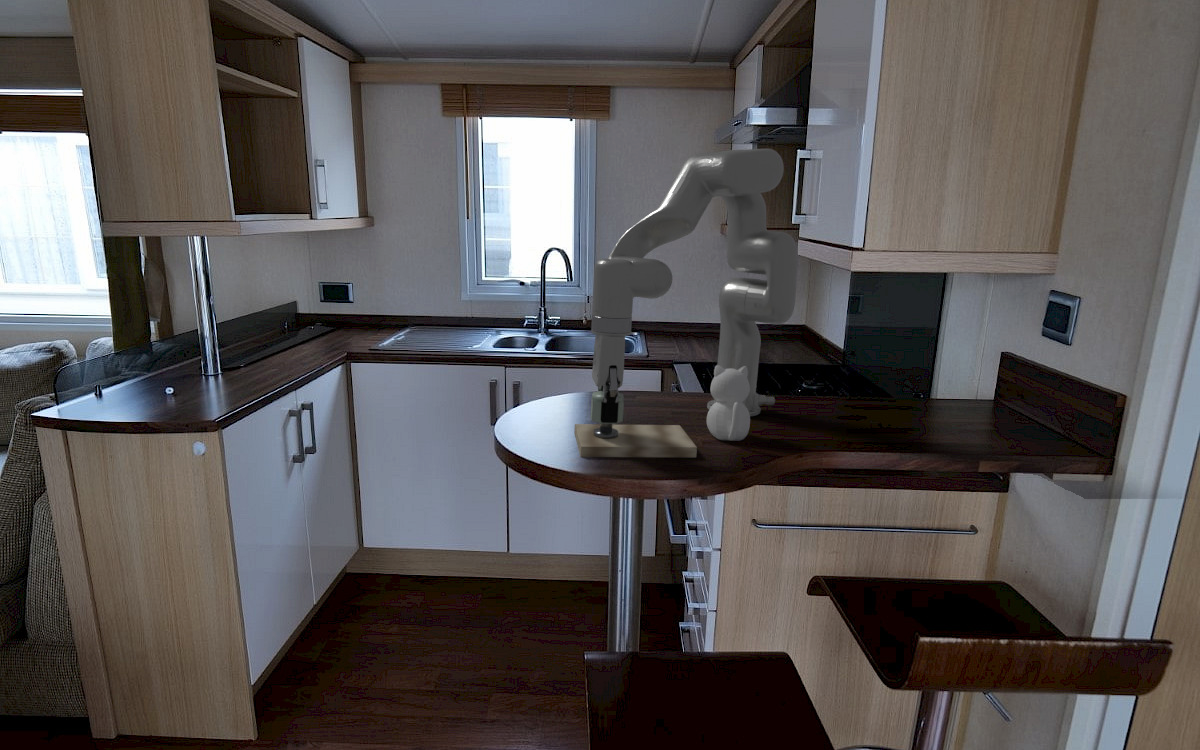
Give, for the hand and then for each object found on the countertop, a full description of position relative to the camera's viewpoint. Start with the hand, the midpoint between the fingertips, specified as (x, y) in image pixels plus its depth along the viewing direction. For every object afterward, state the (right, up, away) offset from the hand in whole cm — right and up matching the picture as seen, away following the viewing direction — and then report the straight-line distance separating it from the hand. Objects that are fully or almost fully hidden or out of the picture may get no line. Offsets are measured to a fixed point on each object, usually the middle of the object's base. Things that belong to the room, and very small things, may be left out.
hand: (606, 416), depth 129 cm
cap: (0, -1, 0) cm, 1 cm away
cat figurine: (+25, -5, +10) cm, 28 cm away
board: (+5, -6, +2) cm, 8 cm away
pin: (0, -4, +1) cm, 4 cm away
